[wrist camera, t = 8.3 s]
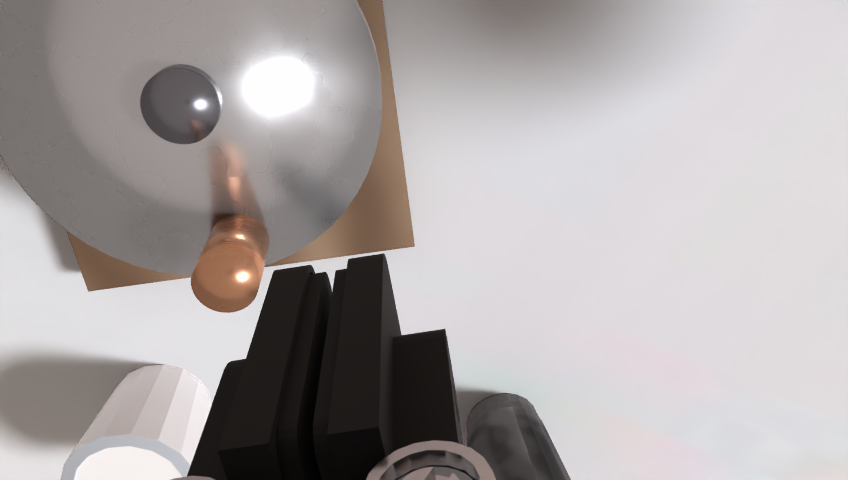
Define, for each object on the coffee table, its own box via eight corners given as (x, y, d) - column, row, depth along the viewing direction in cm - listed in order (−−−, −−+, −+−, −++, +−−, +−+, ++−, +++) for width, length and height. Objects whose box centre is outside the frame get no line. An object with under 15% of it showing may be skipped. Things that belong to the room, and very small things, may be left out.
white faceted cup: (162, 466, 45) (130, 558, 39) (77, 397, 43) (28, 483, 36) (246, 409, 44) (227, 495, 38) (164, 334, 41) (129, 412, 35)
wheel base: (355, -190, 31) (355, -204, 27) (412, 230, 40) (418, 270, 36) (-42, -141, 31) (-106, -147, 27) (100, 273, 40) (69, 318, 35)
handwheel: (-88, -56, 28) (-184, -47, 23) (318, -167, 27) (309, -181, 22) (92, 297, 35) (48, 363, 30) (420, 214, 34) (430, 266, 29)
